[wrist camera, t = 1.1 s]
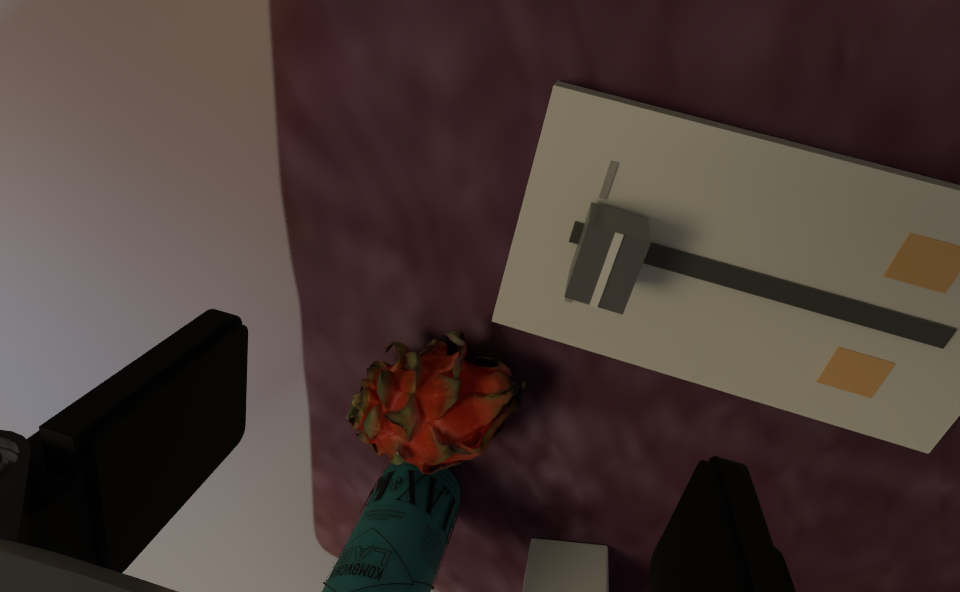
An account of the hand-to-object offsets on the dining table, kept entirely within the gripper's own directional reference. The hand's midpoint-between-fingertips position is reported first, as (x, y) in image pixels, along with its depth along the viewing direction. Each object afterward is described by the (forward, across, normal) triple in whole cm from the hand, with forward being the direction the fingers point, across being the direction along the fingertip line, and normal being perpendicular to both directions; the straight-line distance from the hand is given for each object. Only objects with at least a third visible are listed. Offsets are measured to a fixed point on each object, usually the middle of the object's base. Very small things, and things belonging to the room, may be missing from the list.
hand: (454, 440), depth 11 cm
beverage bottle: (+24, +3, +25) cm, 35 cm away
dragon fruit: (+24, +3, +15) cm, 29 cm away
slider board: (+23, -12, +2) cm, 26 cm away
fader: (+21, -4, +2) cm, 21 cm away
